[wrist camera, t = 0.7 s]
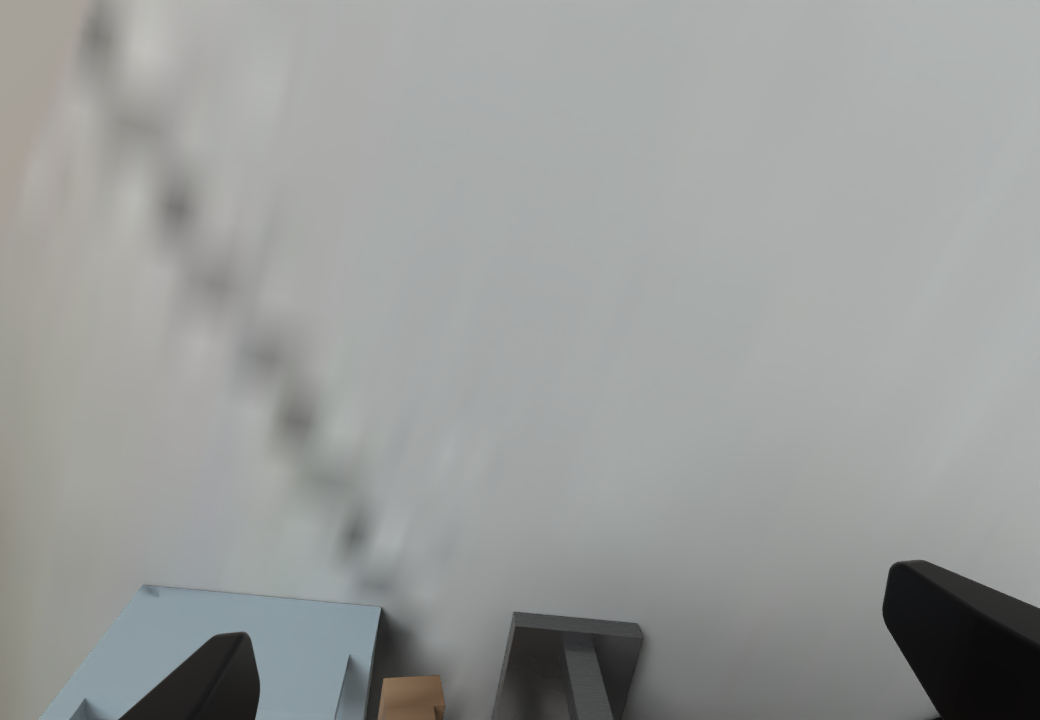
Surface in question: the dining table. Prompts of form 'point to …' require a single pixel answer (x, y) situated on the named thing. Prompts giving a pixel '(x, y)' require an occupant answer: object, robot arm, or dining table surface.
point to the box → (202, 614)
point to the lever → (412, 698)
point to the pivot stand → (566, 668)
